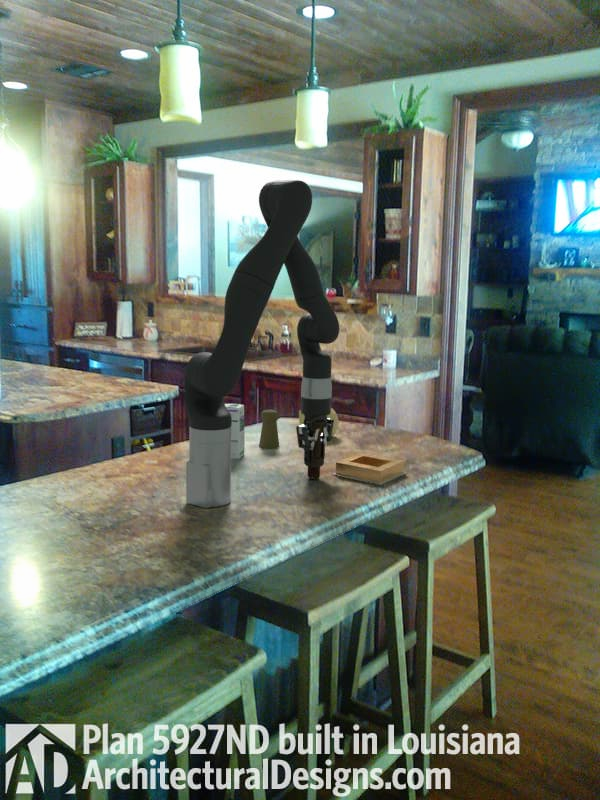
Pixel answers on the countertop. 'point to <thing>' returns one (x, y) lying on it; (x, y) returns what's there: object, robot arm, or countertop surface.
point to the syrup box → (237, 430)
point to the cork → (269, 430)
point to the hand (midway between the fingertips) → (314, 461)
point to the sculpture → (331, 416)
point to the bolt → (316, 453)
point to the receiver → (370, 468)
